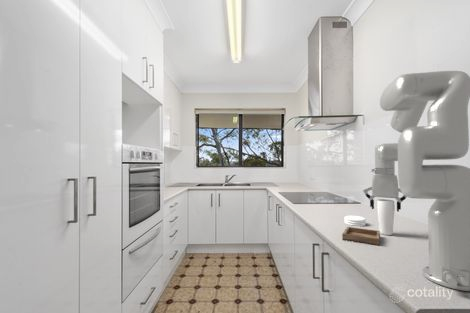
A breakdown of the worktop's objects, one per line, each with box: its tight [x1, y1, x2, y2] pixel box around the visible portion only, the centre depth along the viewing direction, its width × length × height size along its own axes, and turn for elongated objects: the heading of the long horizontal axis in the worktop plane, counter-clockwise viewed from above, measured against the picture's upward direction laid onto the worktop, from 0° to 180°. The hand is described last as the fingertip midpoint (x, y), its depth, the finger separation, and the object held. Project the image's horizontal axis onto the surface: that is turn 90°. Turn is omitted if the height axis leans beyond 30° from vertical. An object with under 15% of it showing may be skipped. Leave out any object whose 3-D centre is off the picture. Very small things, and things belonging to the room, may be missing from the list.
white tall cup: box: [376, 198, 396, 236], centre depth 109 cm, size 7×7×15 cm
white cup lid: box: [344, 215, 367, 227], centre depth 126 cm, size 10×10×4 cm
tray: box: [341, 226, 381, 247], centre depth 102 cm, size 13×13×2 cm
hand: (385, 209), depth 109 cm, fingers open, 9 cm apart
